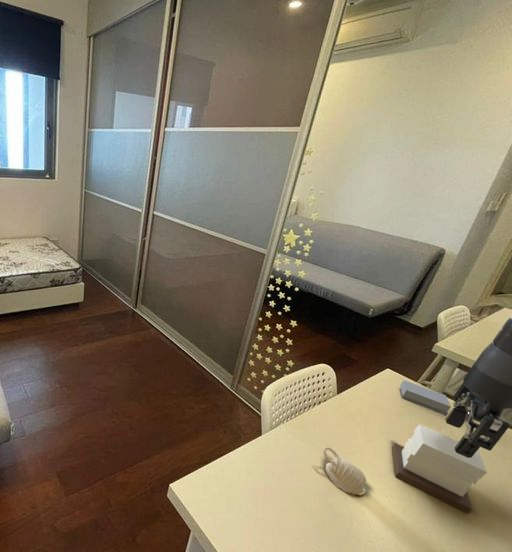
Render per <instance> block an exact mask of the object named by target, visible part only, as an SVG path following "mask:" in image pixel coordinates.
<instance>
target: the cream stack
mask: <svg viewBox="0 0 512 552" xmlns="http://www.w3.org/2000/svg"><path fill="white" fill-rule="evenodd" d="M391 448H392V449H391V451H392V459H393V460H392V461H393V468H394V469H393V470H394V477H395V478H396V479H399V480H400V481H402V482H405V483H406V484H408V485H410V486H412V487H414V488H416V489H418V490H420V491H422V492H424V493H426V494H428V495H429V496H432V497H434V498H436V499H437V500H439V501H442V502H443V503H446V504H447V505H449V506H451V507H454V508H455V509H457V510H459V511H461V512H463V513H465V514H469V513H471V511H472V510H473V508H472V504H471V500H470V498H469V495H468V491H469V488H470V487H471V486H472V484H474V485H476V484H477V482H479V480H481V479H480V478H477V477H475V476H473V475H471V474H469V473H467V472H464V471H462V470H460V469H458V468H456V467H454V466H451V465H449V464H447V463H445V462H443V461H441V460H438V459H436V458H434V457H432V456H430V455H428V454H425V453H423V452H421V451H419V450H418V447H417V442H416V437H415V433H413V435H412V437H411V438H410V437H409V438H408V440H407V441H406V442H405V444H404V446H403V445H400V444H398V443H396V442H394V443H393V445H392V446H391Z"/></svg>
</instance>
